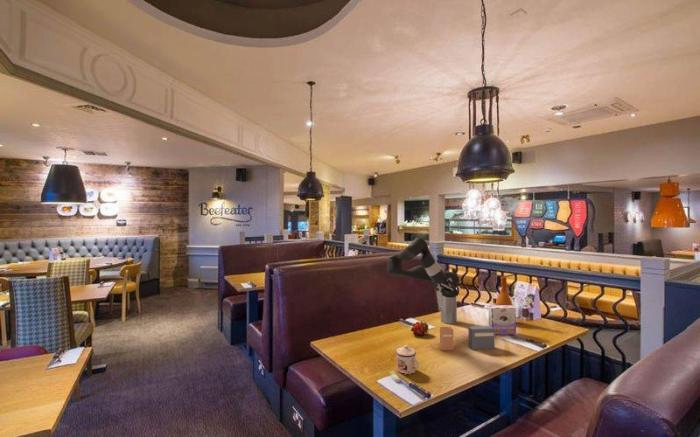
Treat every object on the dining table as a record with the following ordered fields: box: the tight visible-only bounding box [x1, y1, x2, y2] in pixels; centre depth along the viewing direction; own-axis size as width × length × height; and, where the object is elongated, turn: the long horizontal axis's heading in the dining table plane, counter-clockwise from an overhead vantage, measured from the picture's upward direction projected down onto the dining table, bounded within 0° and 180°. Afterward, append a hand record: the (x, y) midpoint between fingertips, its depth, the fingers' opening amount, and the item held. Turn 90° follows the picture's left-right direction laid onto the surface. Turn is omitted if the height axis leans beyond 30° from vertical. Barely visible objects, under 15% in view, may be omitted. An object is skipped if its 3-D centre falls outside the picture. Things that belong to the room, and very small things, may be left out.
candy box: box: [488, 304, 517, 336], centre depth 192 cm, size 14×6×16 cm, turn 84°
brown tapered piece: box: [495, 276, 513, 306], centre depth 211 cm, size 10×10×30 cm
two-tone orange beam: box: [439, 326, 455, 351], centre depth 173 cm, size 6×4×11 cm
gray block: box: [467, 325, 496, 351], centre depth 173 cm, size 12×4×11 cm, turn 91°
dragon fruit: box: [410, 320, 429, 337], centre depth 194 cm, size 8×8×12 cm
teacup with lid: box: [395, 344, 420, 375], centre depth 150 cm, size 12×9×12 cm
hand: (451, 295), depth 174 cm, fingers open, 8 cm apart
